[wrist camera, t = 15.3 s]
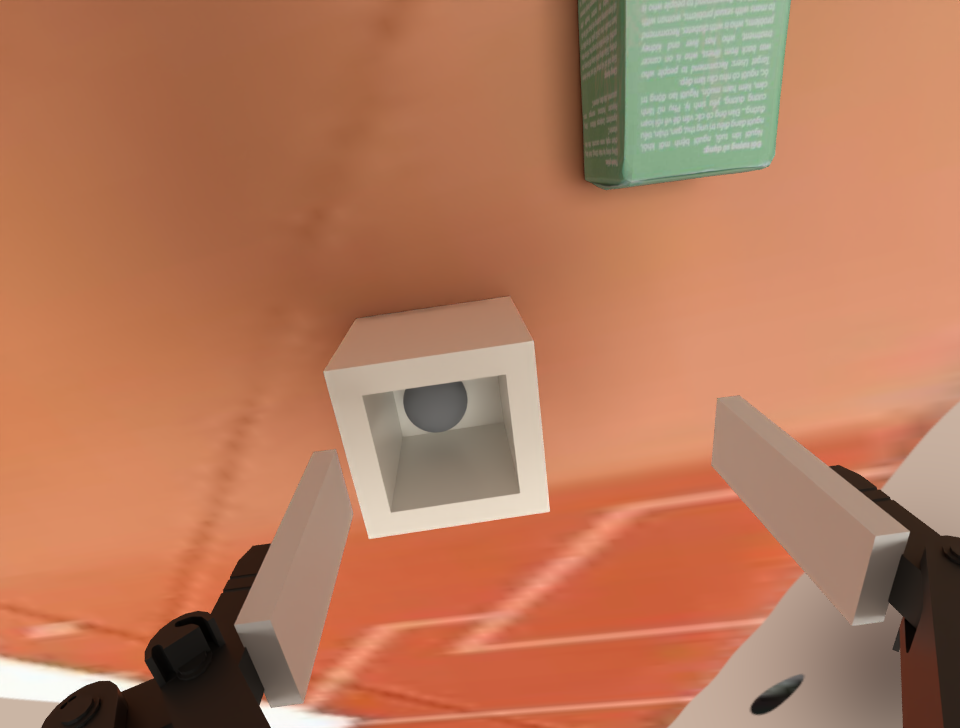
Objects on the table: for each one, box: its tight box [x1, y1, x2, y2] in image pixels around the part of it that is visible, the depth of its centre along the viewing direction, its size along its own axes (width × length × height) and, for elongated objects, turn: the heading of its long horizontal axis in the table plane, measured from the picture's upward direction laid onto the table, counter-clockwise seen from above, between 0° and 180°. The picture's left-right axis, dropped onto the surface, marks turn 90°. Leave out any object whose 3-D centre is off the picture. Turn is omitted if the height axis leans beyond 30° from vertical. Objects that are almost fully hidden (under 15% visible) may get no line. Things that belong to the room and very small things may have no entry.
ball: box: [403, 381, 468, 433], centre depth 30 cm, size 4×4×4 cm
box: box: [578, 0, 791, 190], centre depth 23 cm, size 7×14×8 cm, turn 7°
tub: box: [323, 296, 550, 539], centre depth 29 cm, size 10×10×9 cm
